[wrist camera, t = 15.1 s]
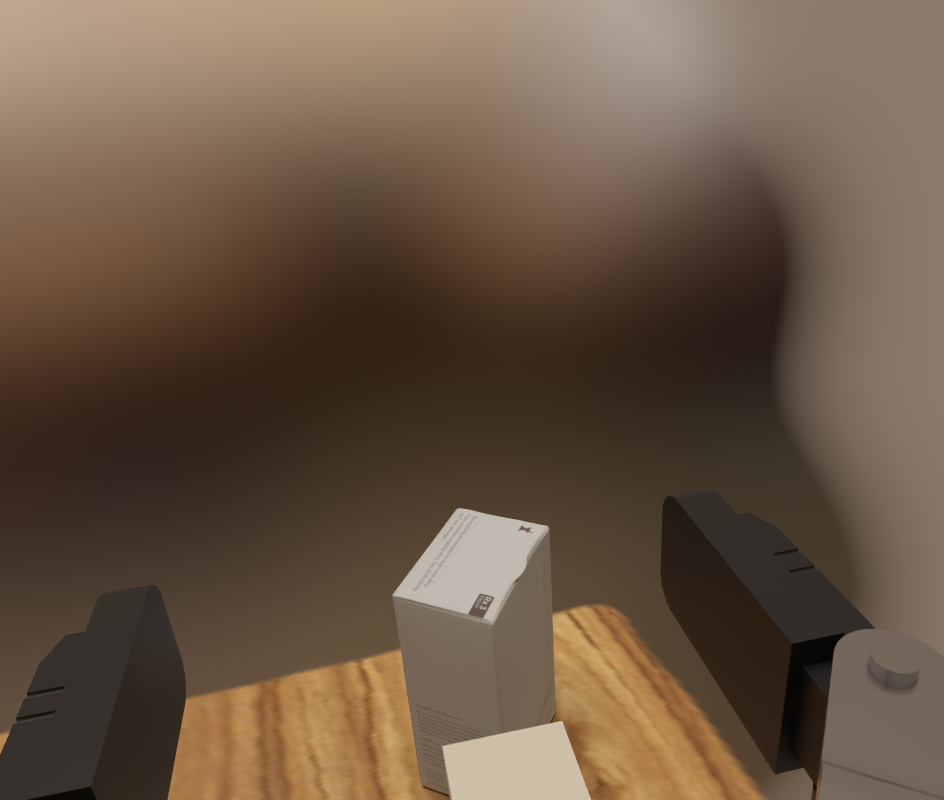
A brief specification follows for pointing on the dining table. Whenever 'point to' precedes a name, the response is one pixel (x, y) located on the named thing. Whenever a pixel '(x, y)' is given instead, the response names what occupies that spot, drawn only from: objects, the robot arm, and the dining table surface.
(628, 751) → the dining table surface
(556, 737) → the tall blank white box
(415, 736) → the skincare box
